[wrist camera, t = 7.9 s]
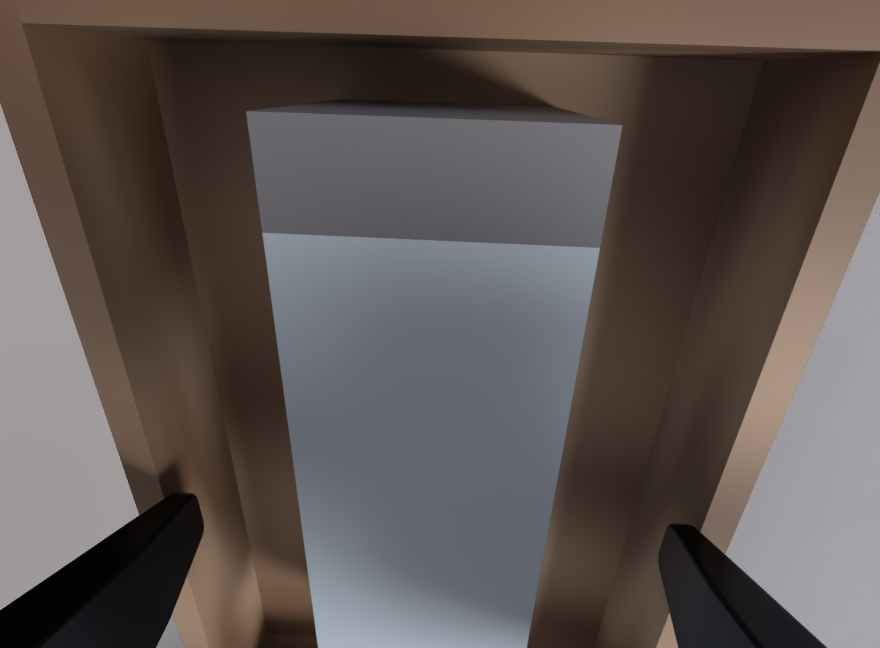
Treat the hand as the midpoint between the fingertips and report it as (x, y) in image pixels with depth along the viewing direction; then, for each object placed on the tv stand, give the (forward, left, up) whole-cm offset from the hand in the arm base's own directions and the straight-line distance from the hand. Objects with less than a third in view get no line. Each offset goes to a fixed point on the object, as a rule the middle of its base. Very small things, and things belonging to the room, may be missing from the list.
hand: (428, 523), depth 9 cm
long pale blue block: (0, 0, -2) cm, 2 cm away
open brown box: (0, 0, -3) cm, 3 cm away
